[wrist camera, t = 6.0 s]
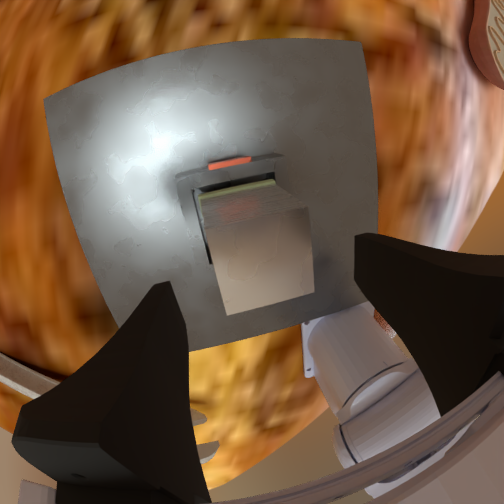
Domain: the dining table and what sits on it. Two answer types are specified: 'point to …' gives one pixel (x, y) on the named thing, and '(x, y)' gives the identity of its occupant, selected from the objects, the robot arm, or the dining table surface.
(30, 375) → the wrench
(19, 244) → the dining table surface
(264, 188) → the grey block
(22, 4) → the dining table surface
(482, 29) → the brown rounded block
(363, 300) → the stand
